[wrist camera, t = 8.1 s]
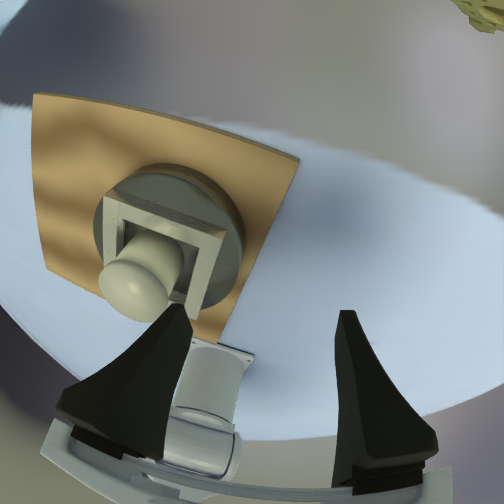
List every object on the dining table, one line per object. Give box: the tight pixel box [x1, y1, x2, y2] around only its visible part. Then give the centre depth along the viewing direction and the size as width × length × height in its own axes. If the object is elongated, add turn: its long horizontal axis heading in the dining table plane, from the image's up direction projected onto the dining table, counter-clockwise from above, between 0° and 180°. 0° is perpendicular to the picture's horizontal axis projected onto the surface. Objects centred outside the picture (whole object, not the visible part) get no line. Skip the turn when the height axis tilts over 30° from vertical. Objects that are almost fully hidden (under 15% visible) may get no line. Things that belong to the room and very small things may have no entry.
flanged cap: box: [98, 229, 185, 323], centre depth 18 cm, size 5×5×4 cm
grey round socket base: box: [93, 163, 246, 320], centre depth 20 cm, size 12×12×4 cm
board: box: [31, 92, 299, 344], centre depth 23 cm, size 22×24×1 cm
